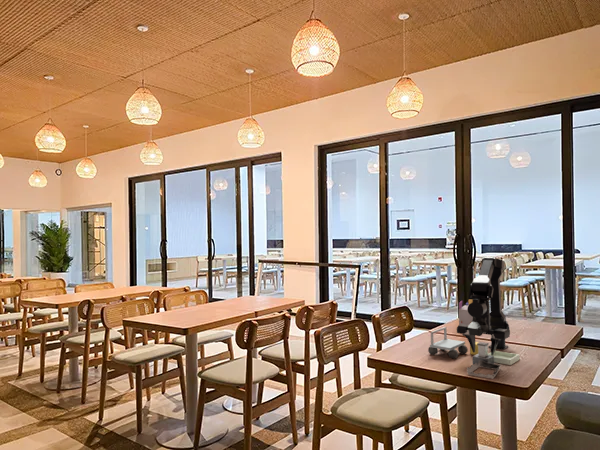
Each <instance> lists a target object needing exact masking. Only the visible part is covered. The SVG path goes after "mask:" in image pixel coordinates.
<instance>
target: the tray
mask: <svg viewBox="0 0 600 450" xmlns="http://www.w3.org/2000/svg"><path fill="white" fill-rule="evenodd" d="M488 355H491V351H490V352H488ZM491 356H494V363H496V364H501V365H509V366H511V365H513V364H514V363H516V362H518V361H519V360H520V356H521V355H520V354H519V353H511V352H505V351H499V350H495V352H494V354H493V355H491Z"/></svg>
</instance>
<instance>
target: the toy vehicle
mask: <svg viewBox="0 0 600 450" xmlns="http://www.w3.org/2000/svg"><path fill="white" fill-rule="evenodd" d="M472 302H473V299H468V302H466V303H465V304H464V305H463V300H461V301H460V302H459V304H458V326H459V325H462V324H467V325H469V324H470V323H471V322H472V320H473V317H472V316H471V315H470V314H469V313H468V310H467V309H468V306H469V304H471V303H472ZM458 326H457V327H458Z"/></svg>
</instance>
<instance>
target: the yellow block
mask: <svg viewBox="0 0 600 450" xmlns="http://www.w3.org/2000/svg"><path fill="white" fill-rule="evenodd" d="M479 342H480V341H479ZM479 342H478V341H475V352H473V351H472V348H471V346H470V345H469V354H470V355H473V356H474V355H476V354H478V345H477V343H479Z"/></svg>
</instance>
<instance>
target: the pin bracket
mask: <svg viewBox="0 0 600 450" xmlns="http://www.w3.org/2000/svg"><path fill="white" fill-rule="evenodd" d="M471 359H472V365H474V364H475V363H477V364H478V362H479V361H480V360H481V361H485V362H487V363H492V364H495V362H494V356H491V355H488V357H487V358H483V357H478V354H476V355H473V356H472V358H471Z"/></svg>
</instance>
